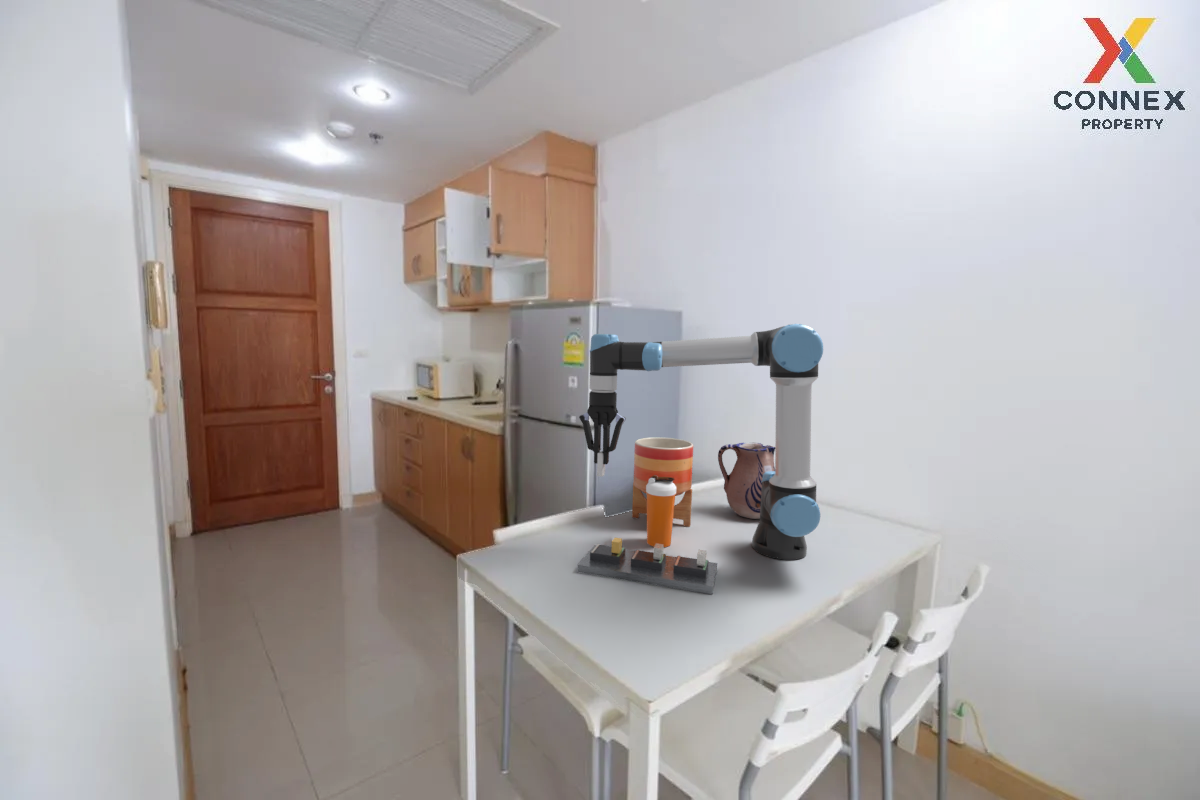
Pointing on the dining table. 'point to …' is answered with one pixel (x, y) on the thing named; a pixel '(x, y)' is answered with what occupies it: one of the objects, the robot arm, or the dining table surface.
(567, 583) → the dining table surface
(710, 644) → the dining table surface
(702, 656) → the dining table surface
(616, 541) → the toggle
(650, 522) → the shaker bottle
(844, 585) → the dining table surface
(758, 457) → the ceramic pitcher
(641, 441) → the planter
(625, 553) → the breaker panel
